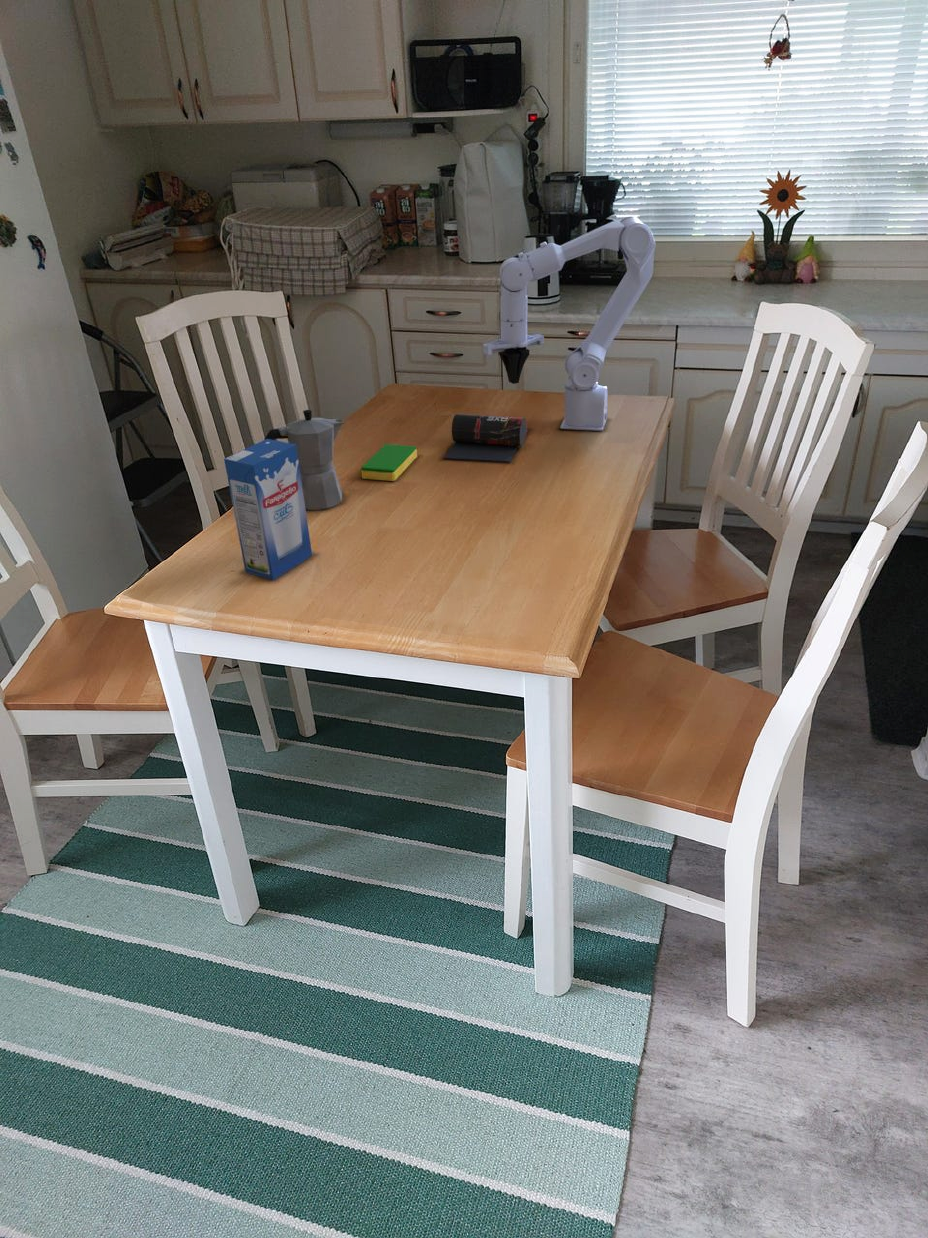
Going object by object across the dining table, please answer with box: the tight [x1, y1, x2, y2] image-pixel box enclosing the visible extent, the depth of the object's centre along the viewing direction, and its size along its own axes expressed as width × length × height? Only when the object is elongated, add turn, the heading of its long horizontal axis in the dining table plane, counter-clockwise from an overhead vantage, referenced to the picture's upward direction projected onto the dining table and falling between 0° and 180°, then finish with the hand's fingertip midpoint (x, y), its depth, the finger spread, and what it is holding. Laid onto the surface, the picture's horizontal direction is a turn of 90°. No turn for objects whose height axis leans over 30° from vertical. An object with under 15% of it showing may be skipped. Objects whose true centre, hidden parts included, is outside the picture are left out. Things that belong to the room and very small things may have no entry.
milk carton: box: [223, 438, 313, 581], centre depth 150 cm, size 10×6×20 cm, turn 148°
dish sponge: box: [360, 443, 418, 482], centre depth 189 cm, size 7×14×2 cm, turn 163°
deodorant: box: [451, 413, 527, 447], centre depth 197 cm, size 6×6×15 cm
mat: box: [443, 427, 529, 464], centre depth 199 cm, size 14×20×1 cm
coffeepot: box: [263, 409, 345, 511], centre depth 172 cm, size 15×9×18 cm, turn 116°
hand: (513, 382), depth 202 cm, fingers closed
